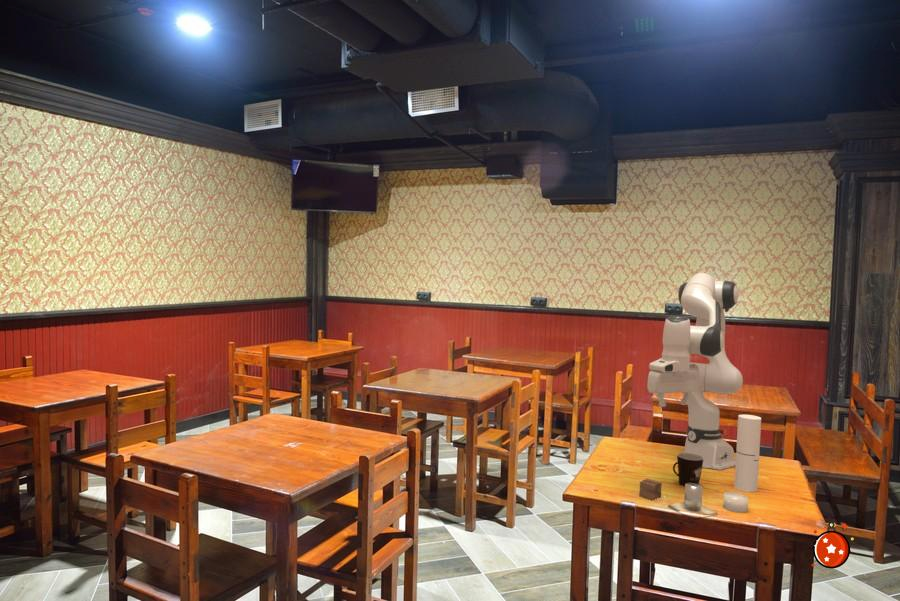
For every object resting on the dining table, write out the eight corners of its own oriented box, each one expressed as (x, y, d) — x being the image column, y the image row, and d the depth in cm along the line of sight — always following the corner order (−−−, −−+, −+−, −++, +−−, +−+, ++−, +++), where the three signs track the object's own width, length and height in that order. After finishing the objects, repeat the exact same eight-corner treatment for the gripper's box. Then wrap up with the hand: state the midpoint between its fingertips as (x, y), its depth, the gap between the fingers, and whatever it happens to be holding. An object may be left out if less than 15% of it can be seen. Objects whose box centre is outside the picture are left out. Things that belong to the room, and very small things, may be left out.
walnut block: (646, 493, 202) (647, 478, 202) (661, 497, 198) (661, 482, 198) (639, 496, 199) (640, 481, 198) (653, 501, 195) (654, 485, 195)
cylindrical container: (730, 484, 213) (734, 414, 212) (751, 485, 213) (755, 414, 212) (739, 491, 206) (743, 419, 205) (761, 492, 206) (765, 419, 205)
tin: (692, 504, 191) (694, 482, 190) (704, 510, 186) (706, 487, 186) (680, 505, 189) (681, 483, 189) (692, 511, 184) (693, 488, 184)
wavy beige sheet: (691, 503, 194) (692, 500, 194) (717, 514, 185) (717, 512, 185) (668, 507, 190) (668, 504, 190) (692, 519, 181) (692, 516, 181)
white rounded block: (733, 503, 195) (734, 491, 195) (752, 511, 189) (753, 498, 189) (718, 506, 192) (718, 493, 192) (736, 514, 186) (737, 501, 186)
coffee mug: (695, 480, 216) (697, 453, 215) (706, 489, 207) (708, 460, 207) (663, 480, 215) (664, 452, 215) (673, 488, 207) (674, 459, 206)
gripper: (691, 362, 210) (689, 401, 210) (645, 364, 201) (643, 405, 202) (705, 365, 204) (703, 405, 204) (658, 367, 195) (656, 409, 196)
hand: (673, 405), depth 203 cm, fingers open, 8 cm apart
